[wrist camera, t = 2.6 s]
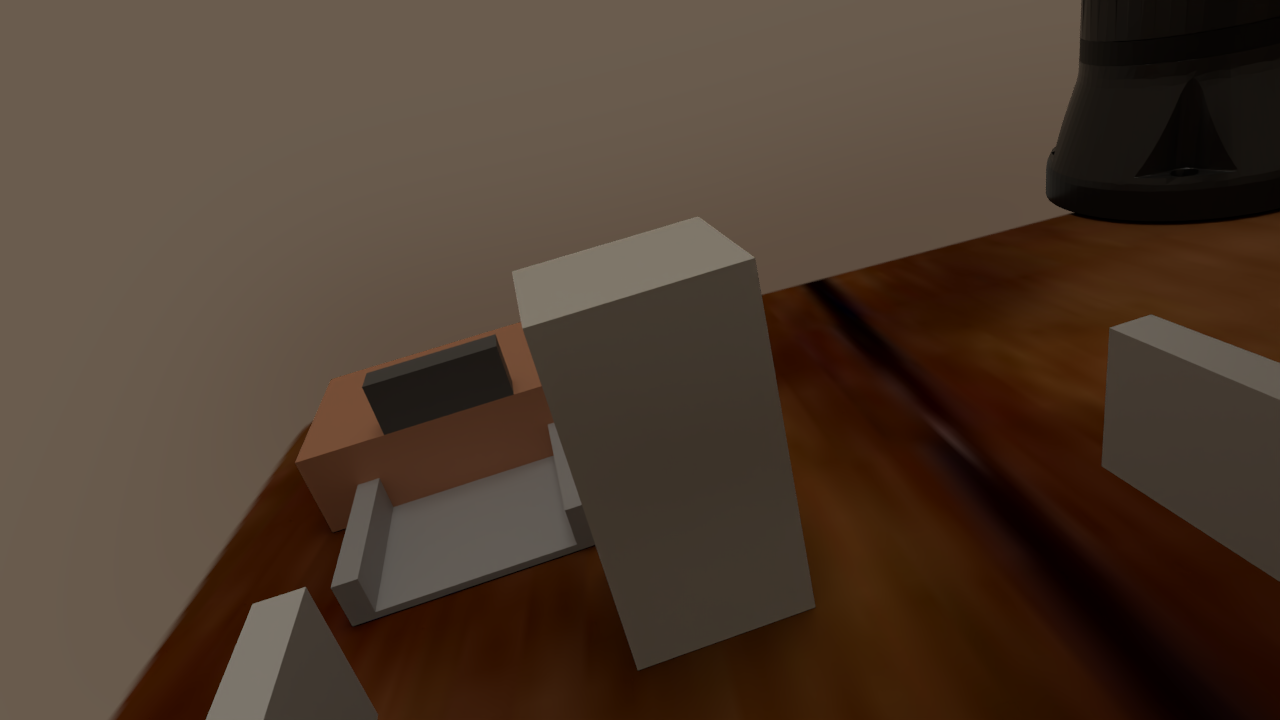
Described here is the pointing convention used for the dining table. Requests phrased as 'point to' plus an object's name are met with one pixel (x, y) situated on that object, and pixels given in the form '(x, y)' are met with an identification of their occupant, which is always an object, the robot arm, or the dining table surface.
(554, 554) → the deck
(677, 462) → the tall grey brick
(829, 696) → the dining table surface
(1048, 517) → the dining table surface
